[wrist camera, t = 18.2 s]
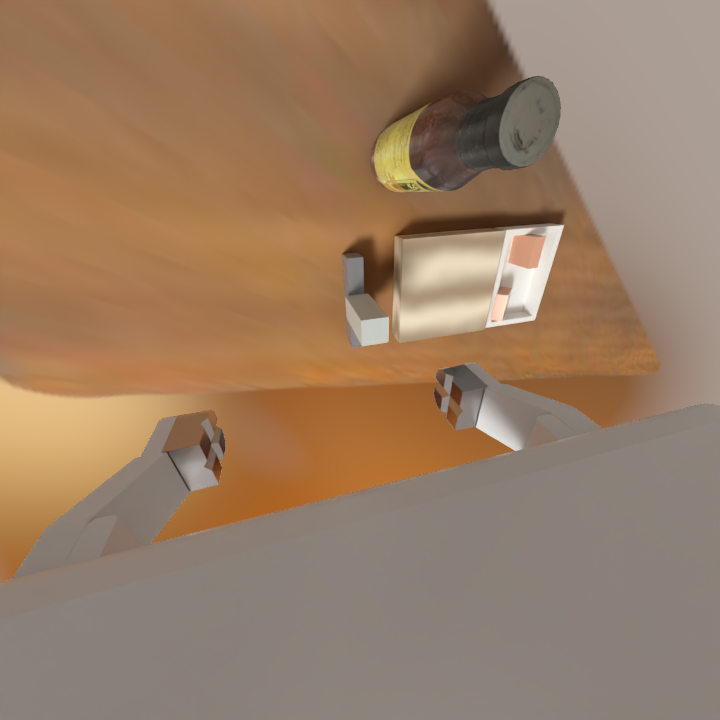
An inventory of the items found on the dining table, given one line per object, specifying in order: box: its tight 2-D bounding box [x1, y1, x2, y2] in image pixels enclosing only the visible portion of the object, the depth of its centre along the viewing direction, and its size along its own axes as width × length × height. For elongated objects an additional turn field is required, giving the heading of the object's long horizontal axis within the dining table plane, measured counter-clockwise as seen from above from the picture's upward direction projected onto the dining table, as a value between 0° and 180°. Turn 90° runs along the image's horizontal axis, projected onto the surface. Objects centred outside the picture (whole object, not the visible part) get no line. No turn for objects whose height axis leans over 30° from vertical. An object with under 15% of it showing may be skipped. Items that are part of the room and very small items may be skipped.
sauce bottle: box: [371, 76, 561, 192], centre depth 24 cm, size 7×6×20 cm
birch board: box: [392, 228, 506, 343], centre depth 40 cm, size 14×14×3 cm
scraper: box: [342, 253, 389, 348], centre depth 35 cm, size 12×3×11 cm, turn 2°
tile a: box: [508, 234, 546, 269], centre depth 39 cm, size 4×4×2 cm
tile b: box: [491, 287, 512, 322], centre depth 43 cm, size 4×4×2 cm
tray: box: [485, 223, 564, 328], centre depth 43 cm, size 14×9×2 cm, turn 2°
